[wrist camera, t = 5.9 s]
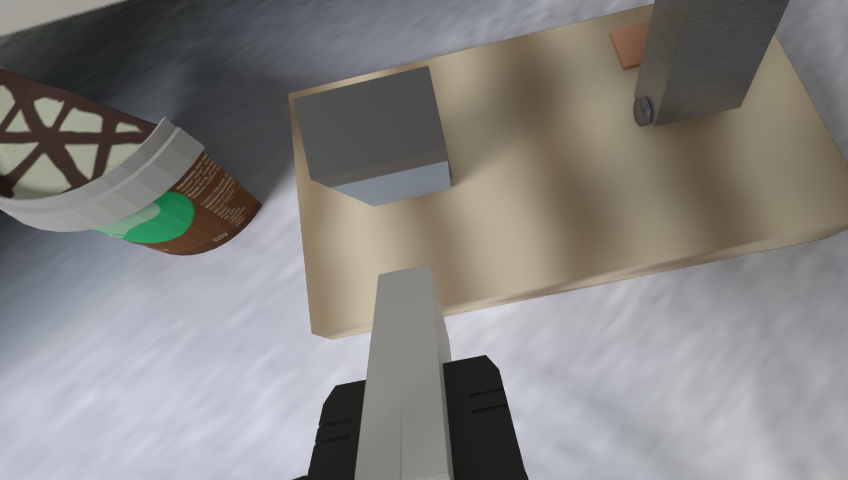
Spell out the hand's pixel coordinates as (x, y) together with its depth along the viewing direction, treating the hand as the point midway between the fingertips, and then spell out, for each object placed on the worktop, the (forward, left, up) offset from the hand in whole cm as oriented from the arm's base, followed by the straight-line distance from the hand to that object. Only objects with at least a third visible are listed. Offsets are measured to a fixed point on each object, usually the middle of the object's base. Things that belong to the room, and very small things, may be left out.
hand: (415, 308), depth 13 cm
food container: (-15, +10, -11) cm, 22 cm away
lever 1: (0, +8, -8) cm, 12 cm away
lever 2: (+14, +8, -8) cm, 18 cm away
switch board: (+7, +8, -11) cm, 16 cm away
